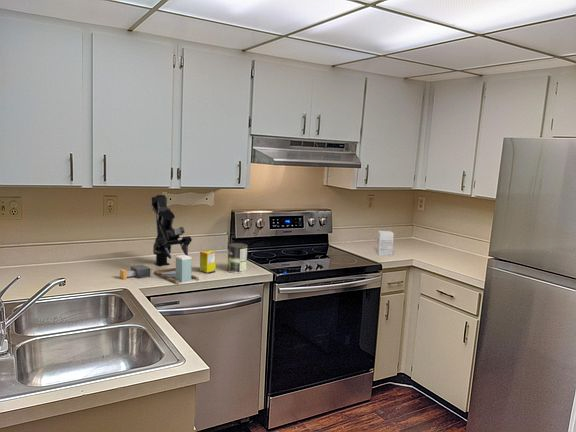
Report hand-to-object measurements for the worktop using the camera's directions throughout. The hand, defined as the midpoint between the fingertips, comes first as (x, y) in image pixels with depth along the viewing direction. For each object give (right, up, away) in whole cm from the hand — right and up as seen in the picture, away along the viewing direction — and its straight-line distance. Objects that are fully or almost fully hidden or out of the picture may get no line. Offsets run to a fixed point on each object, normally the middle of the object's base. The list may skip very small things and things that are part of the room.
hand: (179, 257), depth 228 cm
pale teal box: (+2, -11, -1) cm, 11 cm away
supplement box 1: (+11, -9, +15) cm, 21 cm away
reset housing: (-20, -10, +4) cm, 23 cm away
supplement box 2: (+116, -5, +75) cm, 138 cm away
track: (-3, -10, +4) cm, 11 cm away
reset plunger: (-24, -10, -1) cm, 26 cm away
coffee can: (+26, -9, +20) cm, 34 cm away
